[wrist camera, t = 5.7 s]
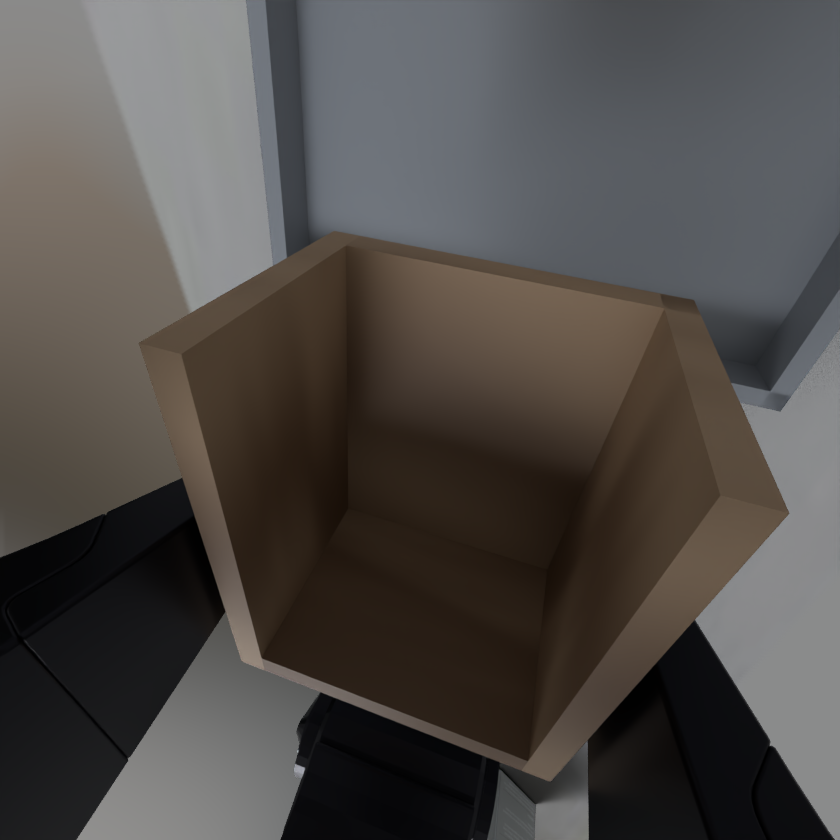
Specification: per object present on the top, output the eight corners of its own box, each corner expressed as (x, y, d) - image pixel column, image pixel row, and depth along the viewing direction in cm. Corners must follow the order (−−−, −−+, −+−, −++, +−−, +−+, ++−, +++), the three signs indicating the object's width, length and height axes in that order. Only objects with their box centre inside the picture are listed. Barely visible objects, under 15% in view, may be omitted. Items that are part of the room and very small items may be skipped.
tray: (758, 373, 17) (780, 411, 15) (307, 276, 20) (276, 297, 18) (1259, -409, 7) (1491, -583, 6) (271, -354, 11) (200, -451, 9)
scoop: (564, 567, 11) (550, 781, 8) (340, 499, 12) (241, 661, 9) (694, 299, 7) (789, 512, 4) (333, 230, 8) (138, 343, 5)
